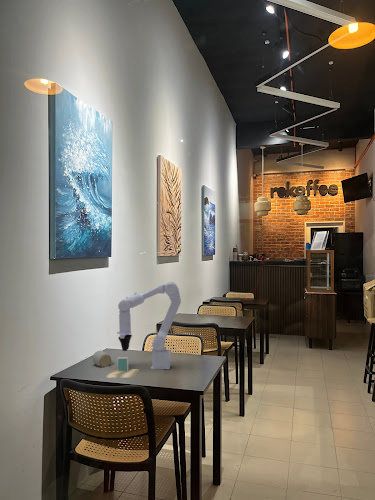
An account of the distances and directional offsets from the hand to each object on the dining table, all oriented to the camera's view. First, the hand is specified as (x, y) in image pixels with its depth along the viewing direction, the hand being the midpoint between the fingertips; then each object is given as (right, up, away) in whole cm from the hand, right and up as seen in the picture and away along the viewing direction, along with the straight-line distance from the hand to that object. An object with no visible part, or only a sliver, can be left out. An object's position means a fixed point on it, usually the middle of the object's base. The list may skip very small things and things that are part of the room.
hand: (125, 350), depth 205 cm
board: (0, -9, -11) cm, 14 cm away
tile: (0, -9, -7) cm, 11 cm away
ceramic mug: (-12, -10, +6) cm, 17 cm away
